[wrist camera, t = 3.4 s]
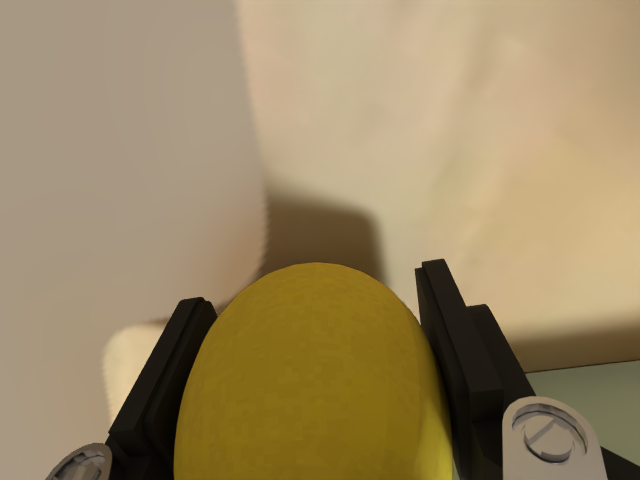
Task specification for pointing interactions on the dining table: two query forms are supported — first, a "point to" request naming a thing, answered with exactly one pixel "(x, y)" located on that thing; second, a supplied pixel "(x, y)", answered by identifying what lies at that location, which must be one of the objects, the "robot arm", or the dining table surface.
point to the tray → (598, 402)
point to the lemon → (315, 386)
